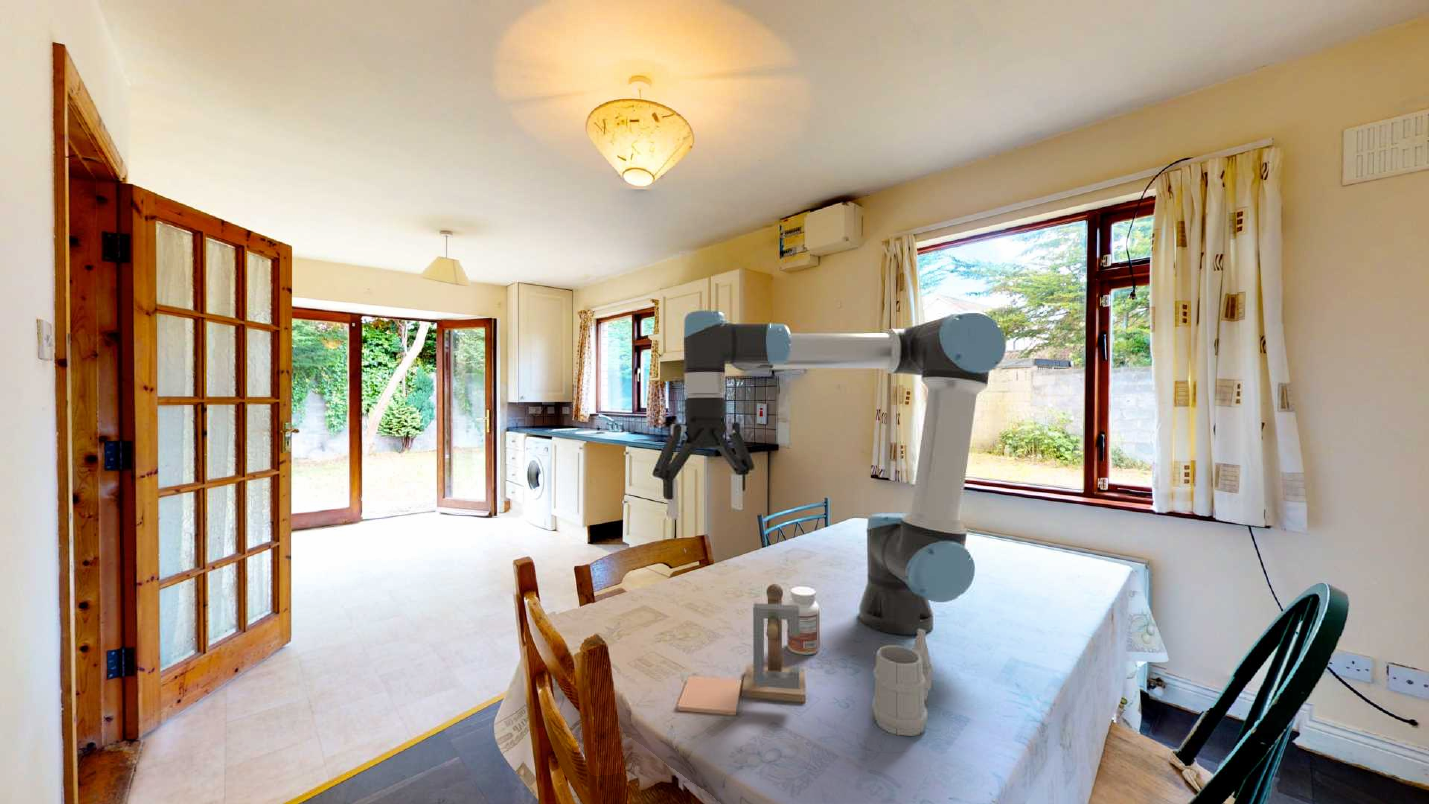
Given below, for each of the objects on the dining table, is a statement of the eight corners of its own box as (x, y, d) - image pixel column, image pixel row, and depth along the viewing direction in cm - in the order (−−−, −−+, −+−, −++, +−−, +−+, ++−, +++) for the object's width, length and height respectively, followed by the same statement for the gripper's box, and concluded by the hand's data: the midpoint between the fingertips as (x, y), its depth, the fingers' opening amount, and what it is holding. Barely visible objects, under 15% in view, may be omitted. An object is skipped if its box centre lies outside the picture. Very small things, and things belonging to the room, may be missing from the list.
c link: (799, 682, 82) (798, 605, 82) (799, 689, 80) (799, 610, 80) (754, 679, 83) (754, 603, 83) (753, 685, 81) (753, 608, 81)
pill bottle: (796, 638, 105) (795, 583, 105) (824, 646, 101) (824, 589, 101) (781, 650, 100) (781, 592, 100) (811, 659, 96) (811, 598, 96)
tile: (741, 683, 87) (741, 680, 87) (735, 715, 79) (735, 711, 79) (688, 679, 89) (688, 676, 89) (677, 710, 80) (677, 706, 80)
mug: (861, 718, 78) (861, 638, 78) (906, 692, 85) (906, 618, 85) (907, 745, 72) (907, 657, 72) (952, 714, 79) (952, 634, 79)
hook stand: (746, 672, 91) (746, 579, 91) (804, 676, 90) (804, 582, 90) (738, 719, 78) (738, 610, 78) (806, 725, 76) (806, 614, 76)
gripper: (748, 397, 105) (749, 502, 105) (633, 397, 92) (634, 517, 92) (771, 396, 99) (772, 508, 99) (651, 396, 86) (652, 525, 86)
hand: (706, 513), depth 95 cm, fingers open, 13 cm apart
